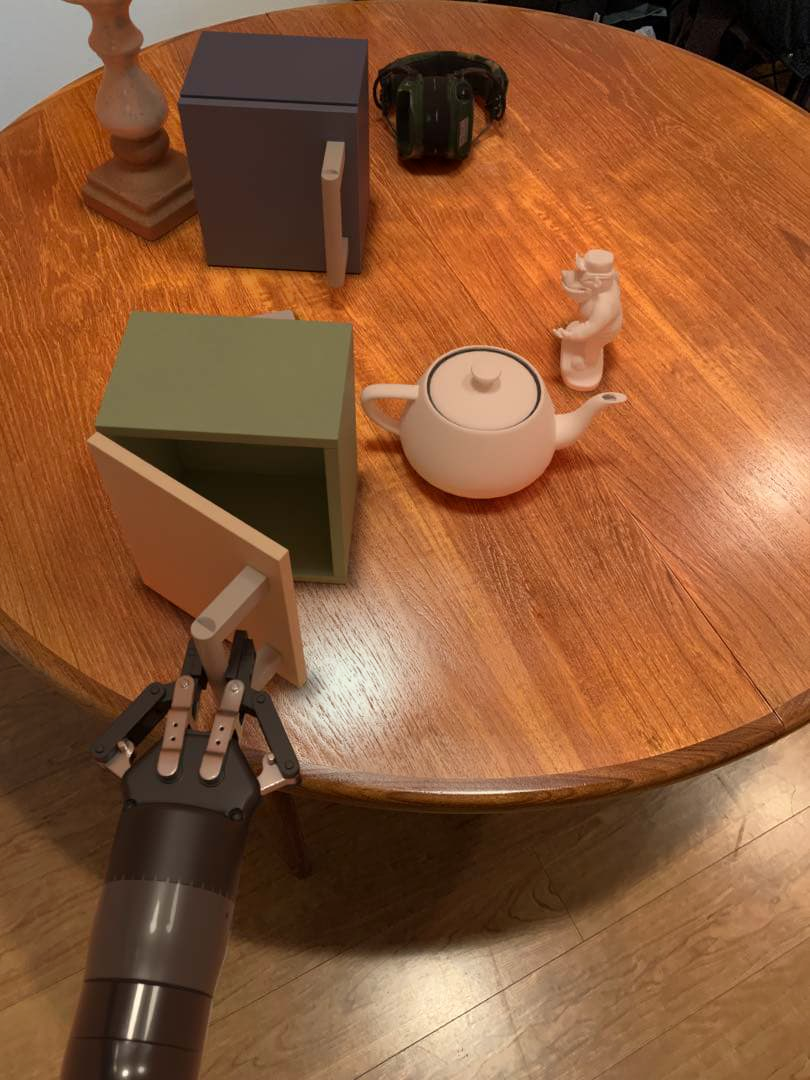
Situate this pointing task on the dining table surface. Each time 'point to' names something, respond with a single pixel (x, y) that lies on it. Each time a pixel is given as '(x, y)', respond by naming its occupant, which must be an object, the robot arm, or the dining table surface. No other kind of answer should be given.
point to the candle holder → (133, 133)
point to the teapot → (481, 421)
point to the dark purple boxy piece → (287, 79)
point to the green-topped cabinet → (247, 423)
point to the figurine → (589, 318)
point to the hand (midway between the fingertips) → (225, 634)
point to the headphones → (439, 100)
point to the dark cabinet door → (276, 184)
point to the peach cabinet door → (206, 567)
